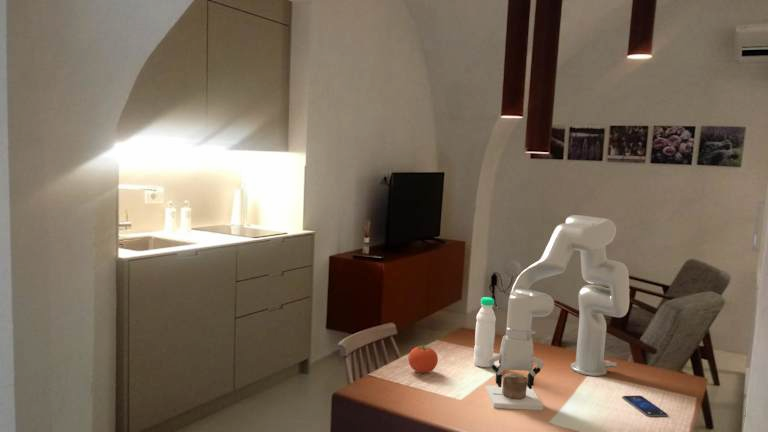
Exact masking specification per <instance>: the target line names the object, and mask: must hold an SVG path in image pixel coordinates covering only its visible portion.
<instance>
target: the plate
mask: <svg viewBox="0 0 768 432" xmlns="http://www.w3.org/2000/svg"><path fill="white" fill-rule="evenodd" d="M502 388H503V385H501V387H498V385H485V391H487V392H486V394H487V396H488V399H489V401H490V403H491V405H492V407H493V409H507V410H508V409H510V410H528V411H529V410H531V411H532V410H533V411H543V410H544V405H543V403H542V401H541V399H540V398H539V396H538V394H536V392H535V390H534V389H533V388H532V389H529V387H527V388H526V398H523V399H521V400H518V399H510V398H508V397H505V396H504V395H503V393H502Z"/></svg>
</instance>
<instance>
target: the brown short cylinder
mask: <svg viewBox="0 0 768 432" xmlns="http://www.w3.org/2000/svg"><path fill="white" fill-rule="evenodd" d="M502 379H503V380H502V386H503V388H502V393H503V395H504V396H505V397H508V398H510V399H518V400H521V399H523V398H526V388H528V386H527V380H528V377H526V376H525V375H523V374H520V373H514V372H512V373H511V372H509V373H505V374H504V376H503V377H502Z"/></svg>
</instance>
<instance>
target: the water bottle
mask: <svg viewBox="0 0 768 432" xmlns="http://www.w3.org/2000/svg"><path fill="white" fill-rule="evenodd" d="M494 304H495V299H494V298H492V297H488V296H485V297H481V298H480V305H481V307H480V309H479V311H478V312H477V314H476V317H475V319H476V323H475V331H474V333H475V335H474V344H475V345H474V346H473V347H474V348H473V349H474V350H473V358H472V360H473V361H472V362H473V365H474V366H476V367H478V366H480V367H479V368H484V367H486V368H490V366H491V365H490V363H489V361H488V359H490V358H492V357H494V352H495V351H494V345H495V337H496V321H497V317H496V314H495V312H494V309H493V307H494Z"/></svg>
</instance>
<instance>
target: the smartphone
mask: <svg viewBox="0 0 768 432" xmlns="http://www.w3.org/2000/svg"><path fill="white" fill-rule="evenodd" d="M621 399H623V401H625V402H626V403H628V404H629V405H631V407H633V408H635V409H636V410H637V411H639V412H640V413H641V414H643V415H644V416H645V417H647V418H658V417H659V418H668V417H669V414H668V413H667V412H665V411H664V410H662V409H661V408H660V407H658V406H657V405H655V404H654V403H653V402H651V401H650V400H648V399H647V398H645V397H644V396H642V395H622V397H621Z"/></svg>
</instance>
